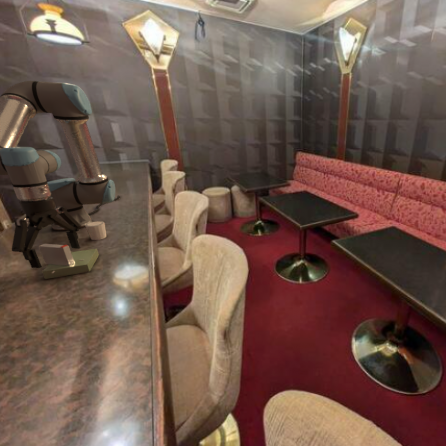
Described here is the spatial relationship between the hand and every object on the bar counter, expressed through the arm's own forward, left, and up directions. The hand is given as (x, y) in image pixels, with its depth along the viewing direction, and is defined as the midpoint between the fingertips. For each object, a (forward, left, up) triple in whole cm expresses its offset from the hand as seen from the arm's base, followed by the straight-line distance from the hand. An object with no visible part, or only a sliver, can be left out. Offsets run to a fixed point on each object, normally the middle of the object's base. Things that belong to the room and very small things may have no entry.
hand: (57, 257), depth 85 cm
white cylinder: (-28, +4, -6) cm, 29 cm away
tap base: (-1, +1, -6) cm, 6 cm away
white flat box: (0, 0, -3) cm, 3 cm away
